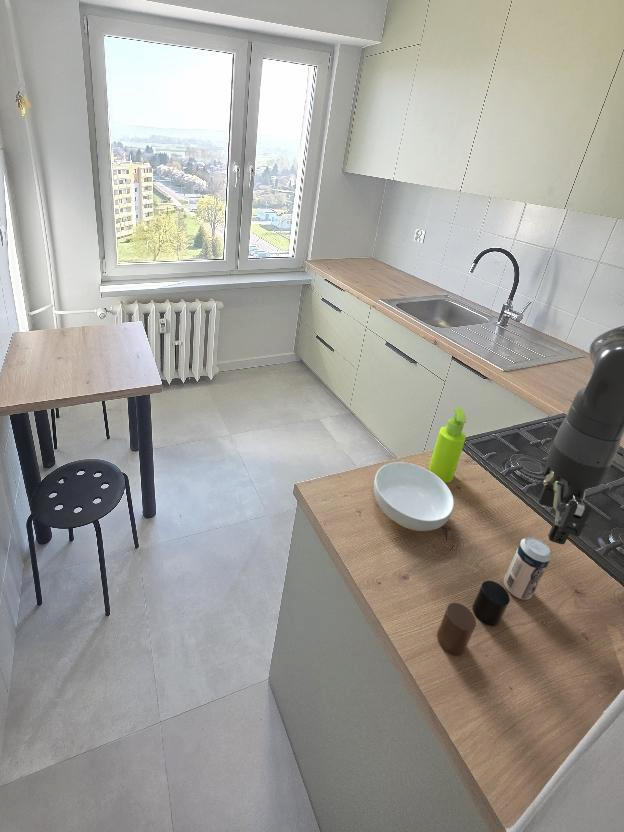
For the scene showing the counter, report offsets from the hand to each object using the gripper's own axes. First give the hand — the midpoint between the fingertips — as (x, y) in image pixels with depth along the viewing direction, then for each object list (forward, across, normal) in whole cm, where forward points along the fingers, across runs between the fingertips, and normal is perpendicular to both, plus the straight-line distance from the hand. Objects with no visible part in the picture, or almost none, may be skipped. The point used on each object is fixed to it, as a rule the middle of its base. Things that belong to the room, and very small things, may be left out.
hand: (550, 521), depth 73 cm
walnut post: (+18, -16, +12) cm, 27 cm away
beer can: (+18, 0, 0) cm, 18 cm away
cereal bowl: (+18, +10, +21) cm, 30 cm away
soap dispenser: (+18, +26, +14) cm, 35 cm away
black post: (+18, -8, +6) cm, 21 cm away
